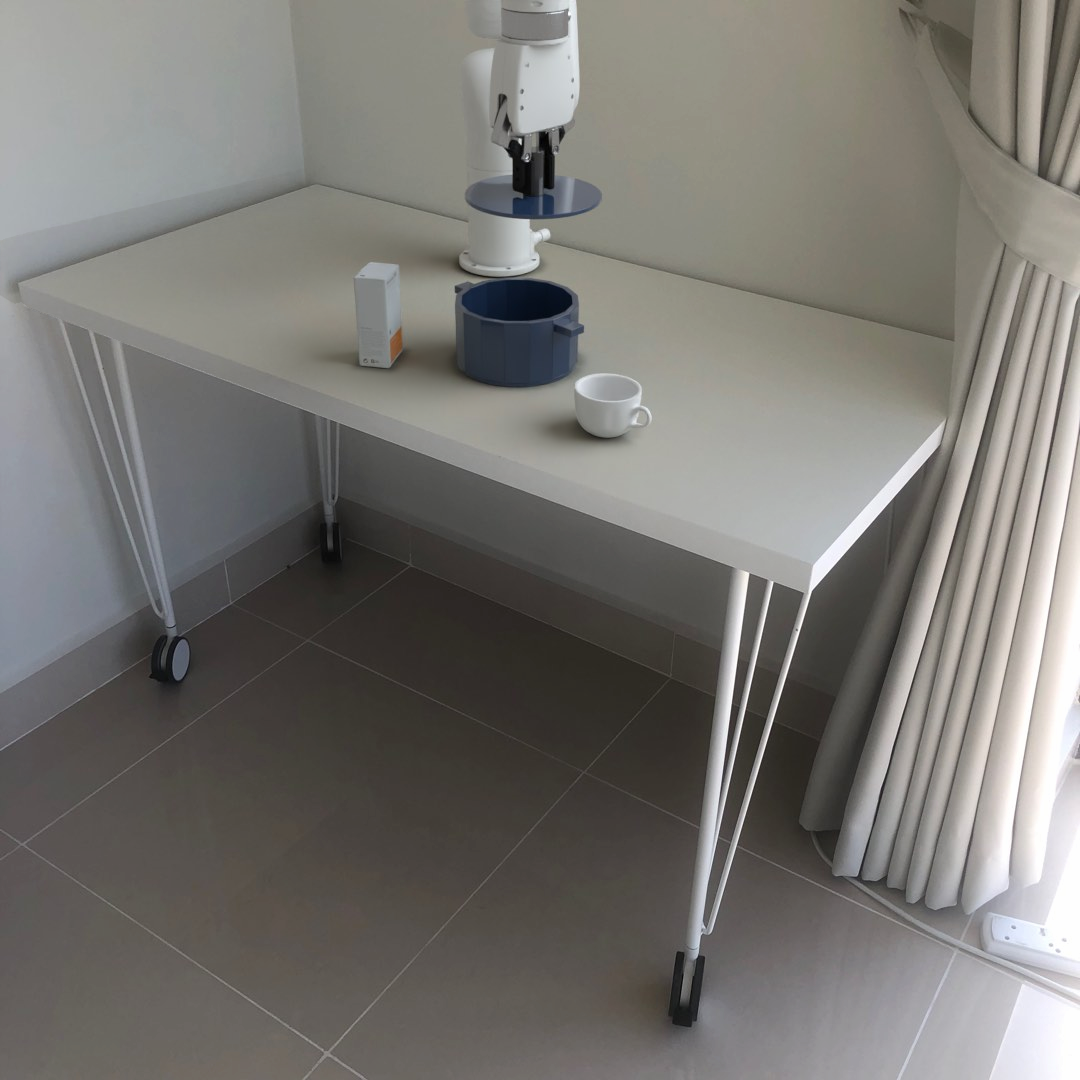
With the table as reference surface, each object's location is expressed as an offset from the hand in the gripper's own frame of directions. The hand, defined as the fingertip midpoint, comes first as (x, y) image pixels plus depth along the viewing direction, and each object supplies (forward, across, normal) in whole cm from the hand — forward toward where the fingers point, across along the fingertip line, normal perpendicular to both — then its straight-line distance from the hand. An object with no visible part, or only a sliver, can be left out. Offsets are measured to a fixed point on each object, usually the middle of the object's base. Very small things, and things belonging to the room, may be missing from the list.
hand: (533, 188), depth 140 cm
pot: (+22, +2, -1) cm, 23 cm away
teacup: (+22, +7, +21) cm, 32 cm away
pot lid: (+1, 0, 0) cm, 1 cm away
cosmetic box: (+23, +14, -14) cm, 30 cm away
